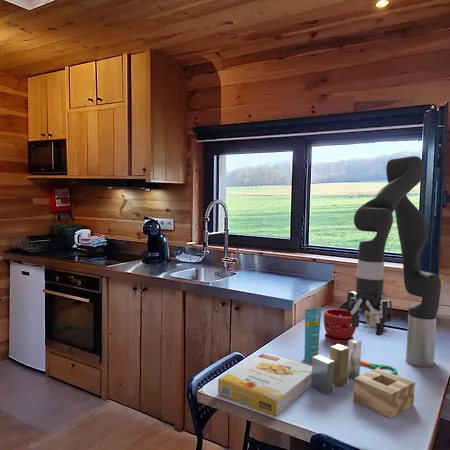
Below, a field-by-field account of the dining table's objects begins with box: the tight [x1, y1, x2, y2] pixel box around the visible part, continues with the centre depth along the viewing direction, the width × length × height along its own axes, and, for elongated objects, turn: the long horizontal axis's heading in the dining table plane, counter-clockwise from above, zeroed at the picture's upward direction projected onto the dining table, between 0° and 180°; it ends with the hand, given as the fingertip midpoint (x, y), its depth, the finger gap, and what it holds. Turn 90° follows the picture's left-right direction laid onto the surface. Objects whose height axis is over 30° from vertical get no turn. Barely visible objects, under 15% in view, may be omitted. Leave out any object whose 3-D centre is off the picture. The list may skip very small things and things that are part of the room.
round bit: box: [347, 339, 362, 380], centre depth 142 cm, size 4×4×12 cm
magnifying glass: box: [360, 359, 398, 375], centre depth 150 cm, size 15×6×2 cm, turn 51°
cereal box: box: [217, 352, 312, 417], centre depth 134 cm, size 20×6×28 cm
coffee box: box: [364, 291, 386, 328], centre depth 197 cm, size 9×6×16 cm
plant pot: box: [323, 308, 357, 345], centre depth 176 cm, size 13×13×12 cm
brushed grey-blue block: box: [310, 354, 334, 396], centre depth 132 cm, size 3×6×10 cm, turn 38°
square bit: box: [329, 344, 349, 388], centre depth 137 cm, size 4×4×12 cm
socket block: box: [352, 368, 416, 419], centre depth 125 cm, size 12×12×7 cm
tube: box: [304, 306, 322, 362], centre depth 156 cm, size 7×5×19 cm, turn 123°
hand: (366, 331), depth 125 cm, fingers open, 8 cm apart
